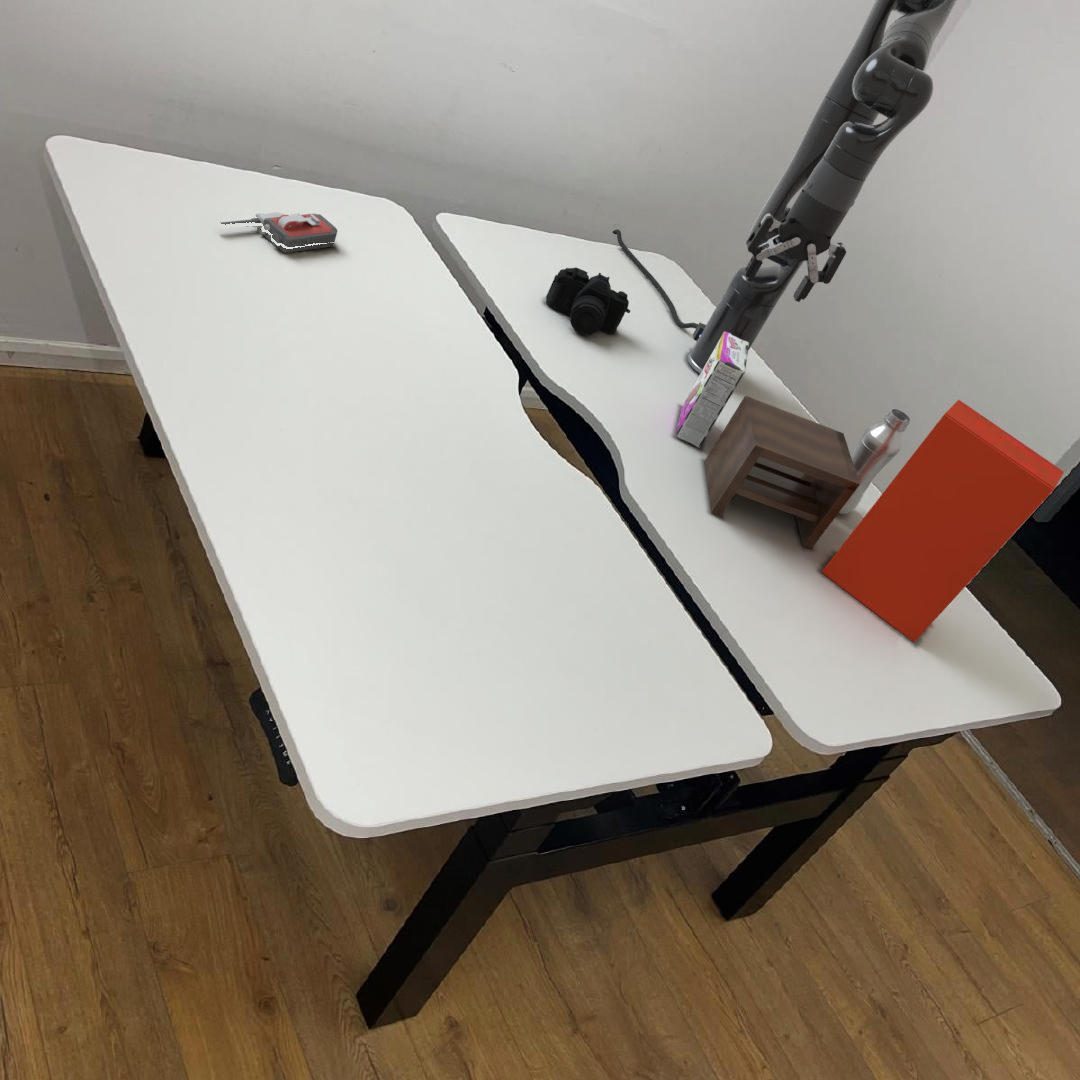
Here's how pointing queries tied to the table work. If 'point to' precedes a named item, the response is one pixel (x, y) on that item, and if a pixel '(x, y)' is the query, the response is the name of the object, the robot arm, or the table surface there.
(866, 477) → the silver metal bottle
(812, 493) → the shoe rack
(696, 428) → the candy bar box
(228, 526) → the table surface
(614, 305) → the film camera
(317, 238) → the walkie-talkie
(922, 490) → the file binder
